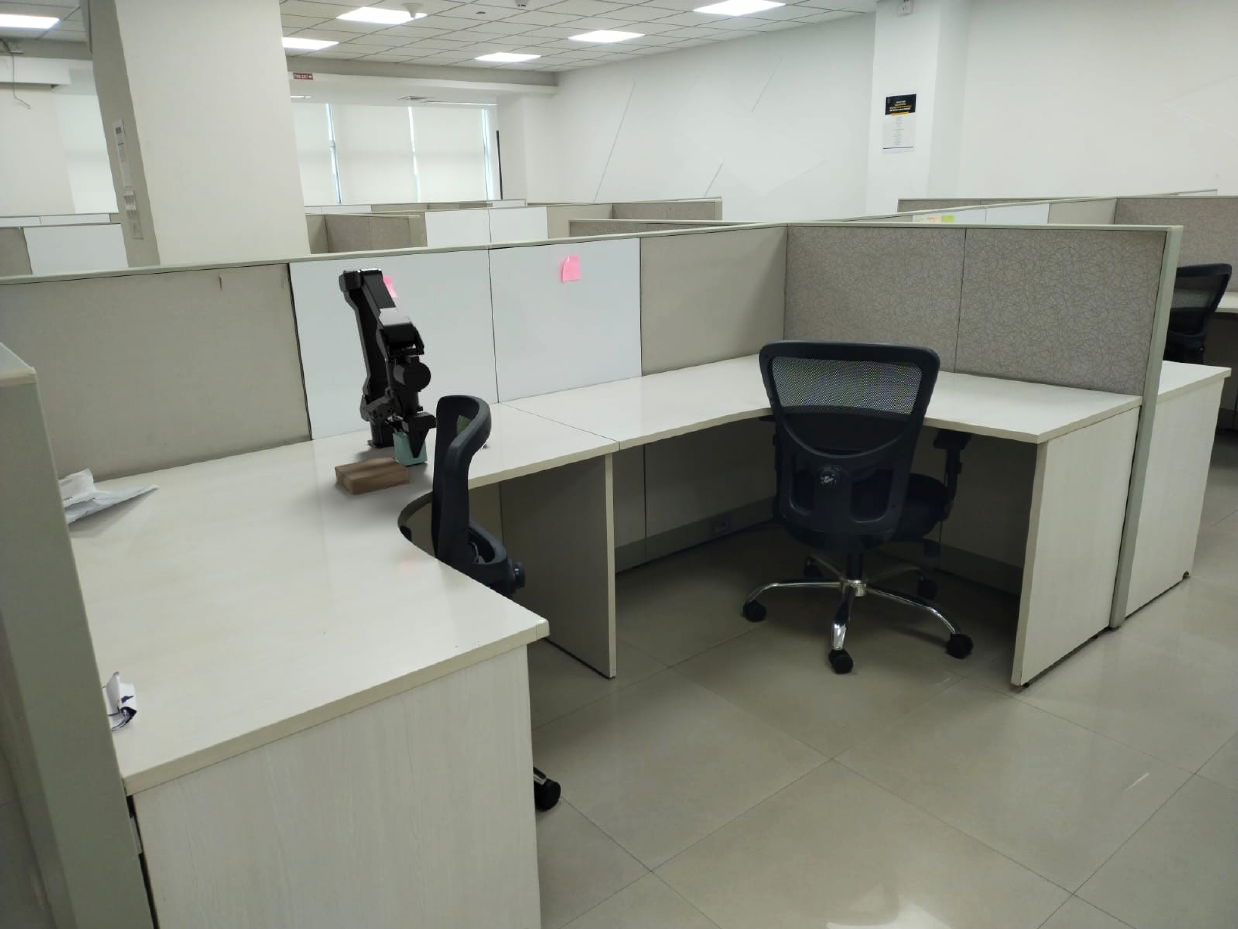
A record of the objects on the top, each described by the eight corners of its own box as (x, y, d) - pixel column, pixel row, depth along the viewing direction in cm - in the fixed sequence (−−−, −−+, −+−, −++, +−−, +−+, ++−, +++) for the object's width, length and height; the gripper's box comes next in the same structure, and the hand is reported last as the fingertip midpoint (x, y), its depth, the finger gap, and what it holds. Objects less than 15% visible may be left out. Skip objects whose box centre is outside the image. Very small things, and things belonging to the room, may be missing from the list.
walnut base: (336, 480, 176) (334, 466, 175) (389, 469, 182) (387, 455, 181) (354, 494, 168) (352, 479, 167) (409, 482, 173) (407, 468, 172)
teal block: (396, 460, 187) (392, 433, 185) (418, 455, 189) (415, 428, 187) (404, 465, 183) (401, 438, 181) (427, 461, 185) (424, 433, 184)
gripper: (349, 381, 184) (359, 452, 189) (380, 396, 169) (390, 473, 174) (400, 373, 190) (408, 443, 195) (434, 387, 175) (442, 462, 180)
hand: (411, 455), depth 186 cm, fingers closed on teal block, 5 cm apart
